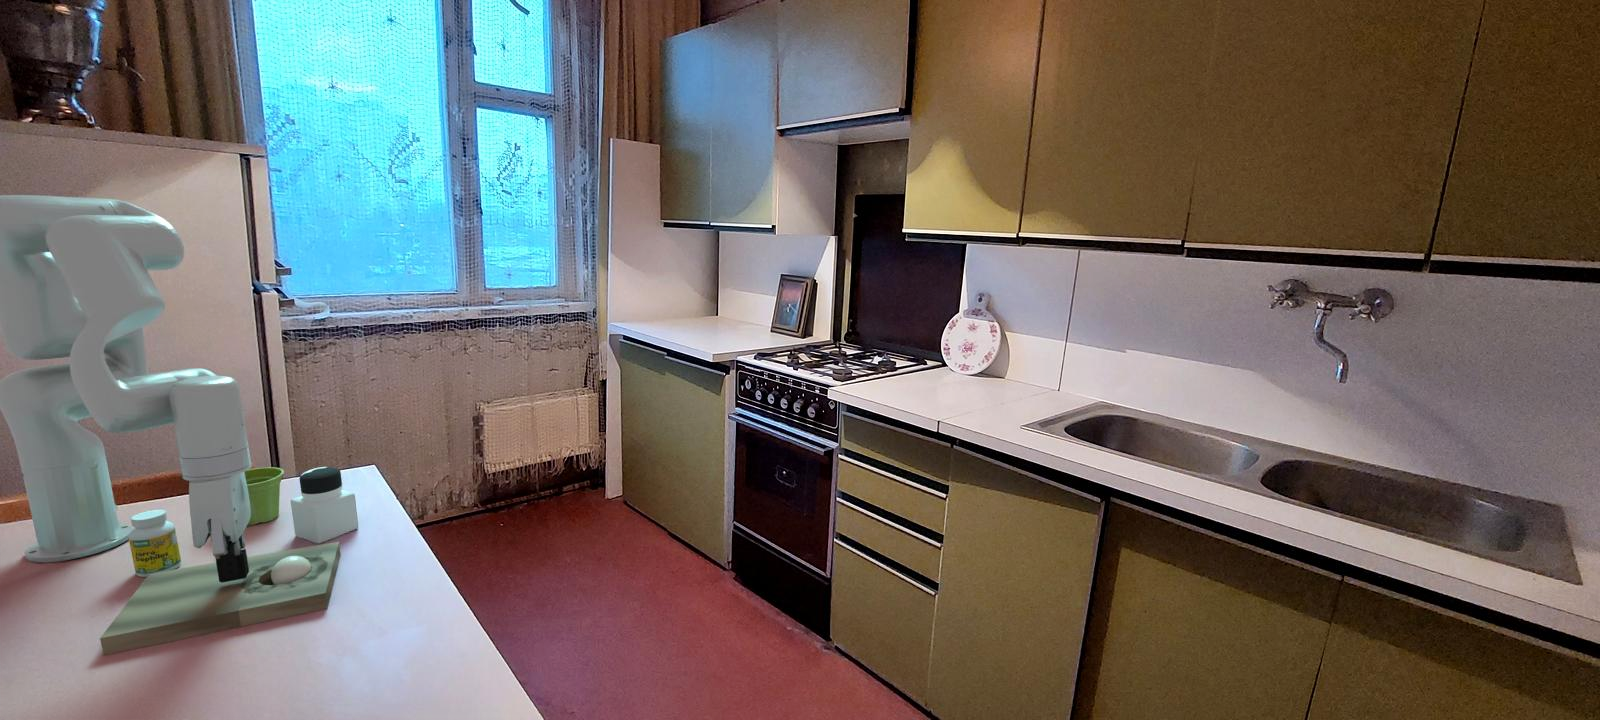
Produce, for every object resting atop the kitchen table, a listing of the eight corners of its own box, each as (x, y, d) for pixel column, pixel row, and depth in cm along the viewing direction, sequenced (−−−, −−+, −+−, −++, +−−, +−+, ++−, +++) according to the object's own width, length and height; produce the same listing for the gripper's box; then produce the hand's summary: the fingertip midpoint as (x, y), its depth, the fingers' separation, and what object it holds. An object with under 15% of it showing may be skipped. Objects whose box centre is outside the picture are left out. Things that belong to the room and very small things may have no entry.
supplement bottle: (184, 558, 110) (175, 504, 108) (177, 572, 106) (168, 517, 104) (140, 566, 107) (130, 511, 105) (131, 581, 103) (120, 524, 101)
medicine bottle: (359, 528, 122) (352, 467, 120) (318, 544, 116) (310, 480, 114) (335, 520, 125) (328, 461, 123) (294, 536, 119) (285, 473, 117)
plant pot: (262, 531, 120) (256, 486, 119) (212, 529, 121) (204, 484, 119) (301, 509, 130) (296, 468, 128) (254, 508, 130) (248, 466, 128)
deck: (152, 588, 101) (149, 573, 101) (340, 554, 113) (339, 541, 112) (103, 655, 86) (99, 638, 85) (327, 608, 97) (325, 592, 97)
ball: (268, 597, 100) (262, 566, 102) (305, 589, 105) (300, 559, 106) (281, 586, 98) (276, 554, 100) (319, 578, 103) (314, 548, 104)
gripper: (197, 450, 100) (215, 561, 103) (164, 484, 87) (186, 609, 90) (260, 443, 103) (275, 551, 107) (237, 475, 90) (255, 596, 94)
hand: (234, 577), depth 99 cm, fingers closed
